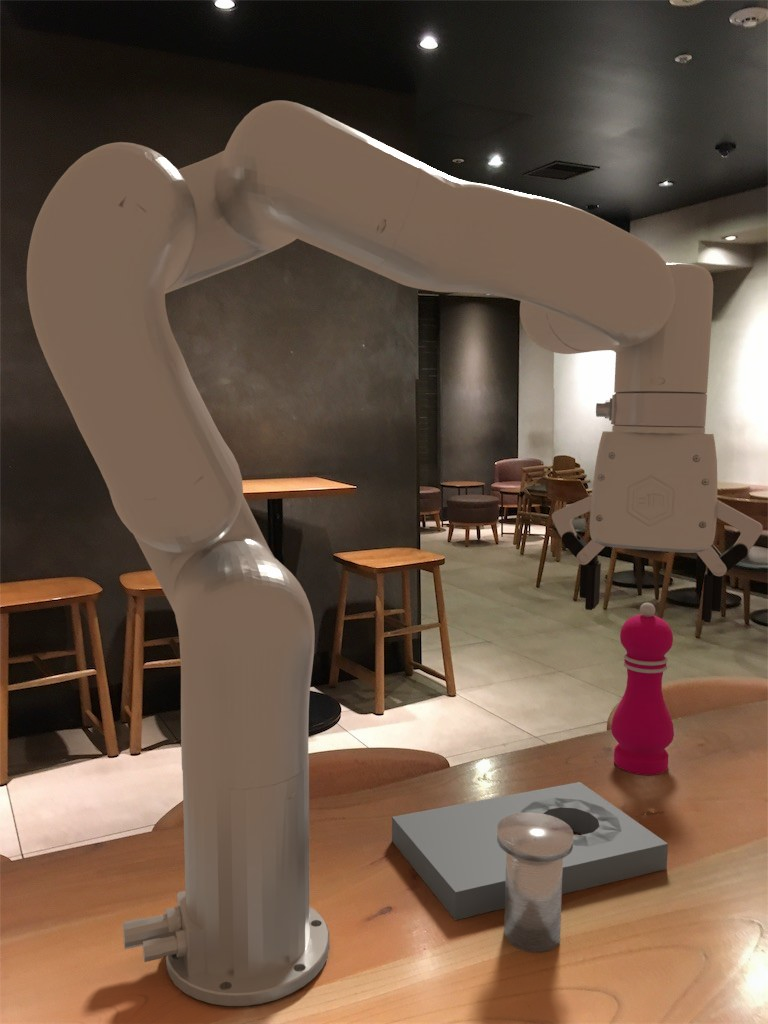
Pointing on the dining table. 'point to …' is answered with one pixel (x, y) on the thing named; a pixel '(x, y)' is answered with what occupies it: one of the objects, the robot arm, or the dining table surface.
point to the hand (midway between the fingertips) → (647, 612)
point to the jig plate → (482, 862)
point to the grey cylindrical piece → (533, 878)
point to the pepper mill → (643, 696)
